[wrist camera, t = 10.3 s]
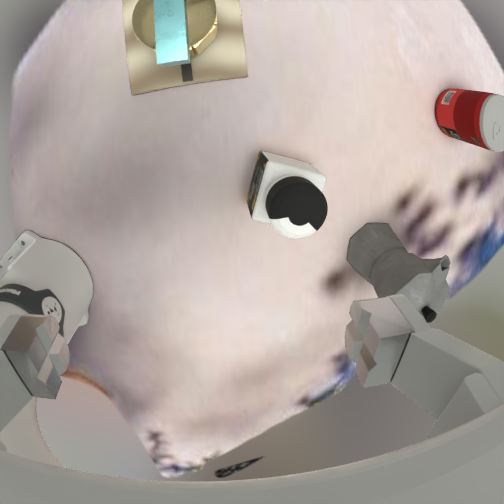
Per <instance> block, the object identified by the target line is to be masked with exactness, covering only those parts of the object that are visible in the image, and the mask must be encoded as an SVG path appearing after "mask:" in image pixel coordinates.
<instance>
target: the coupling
mask: <svg viewBox="0 0 504 504" xmlns="http://www.w3.org/2000/svg"><path fill="white" fill-rule="evenodd" d="M132 25H133V29H134V32H135V36H136V37H137V38H136V39H138V40H139V41H140V42H142V43H143V44H145V45H146V46H148V47H149V48H150V49H152V50H153V51H155V52H156V56H157V64H158V65H160V66H162V67H168V66H174V65H181V64H188V63H191V61H190V58H196V54H197V55H198V56H200V54H201V53H202V52H203V51H204V50H205V49H206V48H207V47H208V46H209V45H210V44H211V43H212V42H213V41H214V40H215V39H216V35H217V12H216V0H139V1H138V2H137V4H136V6H135V8H134V11H133V15H132Z"/></svg>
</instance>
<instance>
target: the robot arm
mask: <svg viewBox="0 0 504 504" xmlns="http://www.w3.org/2000/svg"><path fill="white" fill-rule="evenodd" d="M23 241H24V242H25V244H24V243H23ZM92 296H93V283H92V279H91V275H90V273H89V271H88V269H87V267H86V265H85V264H84V262H83V261H82V260H81V258H80V257H79V256H78V255H77V254H76V253H75V252H74V251H72V250H71V249H70V248H68V247H67V246H65V245H64V244H62V243H59V242H57V241H53V240H49V239H44V238H41V237H39V236H38V235H36V234H35V233H33V232H31V231H29V230H25V231H24V232H23V233H22V234H21V235H20V236H19V238H18V239H17V240H16V241H15V242H14V243H13V245H12V246H11V247H10V248H9V249H8V251H7V252H6V253H5V255H4V256H3V257H2V258H1V259H0V504H504V363H503V362H502V361H501V360H499V359H497V358H495V357H493V356H491V355H489V354H487V353H485V352H483V351H481V350H479V349H477V348H475V347H473V346H471V345H469V344H467V343H465V342H463V341H461V340H459V339H457V338H455V337H453V336H451V335H449V334H447V333H445V332H443V331H441V330H438V329H437V328H434V329H431V328H430V326H429V325H428V324H427V322H426V321H425V320H424V318H423V317H422V316H421V315H420V313H419V312H418V311H417V309H416V308H415V307H414V306H413V304H412V303H411V302H410V301H409V299H408V298H407V297H406V296H405V295H403V294H398V295H392V296H386V297H382V298H375V299H367V300H359V301H353V303H352V305H351V307H350V312H349V314H350V316H351V318H352V321H351V322H350V323H349V324H348V325H347V326H346V331H345V347H346V351H347V353H348V356H349V358H350V359H351V360H353V361H354V362H356V363H357V365H356V368H355V371H356V374H357V376H358V378H359V380H360V382H361V385H362V387H363V388H366V387H371V386H376V385H381V384H386V383H391V385H393V386H394V387H395V388H396V389H398V390H399V391H401V392H402V393H403V394H404V395H406V396H407V397H408V398H409V399H411V400H412V401H413V402H415V403H416V404H417V405H419V406H420V407H421V408H422V409H424V410H425V411H426V412H428V413H429V414H430V415H432V416H433V417H434V418H435V419H437V421H436V422H435V424H434V425H433V426H432V428H431V429H430V430H429V432H428V434H427V437H428V439H427V440H425V441H422V442H419V443H416V444H414V445H411V446H408V447H405V448H402V449H399V450H396V451H393V452H389V453H386V454H383V455H380V456H376V457H373V458H369V459H366V460H361V461H357V462H354V463H350V464H345V465H341V466H337V467H332V468H327V469H322V470H317V471H311V472H305V473H299V474H293V475H286V476H279V477H271V478H261V479H250V480H236V481H217V482H216V481H214V482H175V481H155V480H141V479H130V478H122V477H113V476H106V475H99V474H93V473H87V472H81V471H77V470H72V469H67V468H63V466H62V465H61V463H60V462H59V461H58V460H57V458H56V457H55V456H54V455H53V453H52V452H51V450H50V449H49V447H48V446H47V444H46V442H45V441H44V438H43V436H42V434H41V431H40V428H39V425H38V420H37V414H36V402H37V397H41V398H48V399H56V396H57V393H58V391H59V388H60V386H61V383H62V381H61V378H60V375H61V374H63V373H64V372H65V371H66V370H67V367H68V365H69V357H70V352H69V348H68V343H69V341H70V339H71V338H72V336H73V334H74V333H75V331H76V329H77V328H78V326H84V325H86V323H87V322H88V320H89V314H88V307H89V304H90V302H91V300H92Z"/></svg>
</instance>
